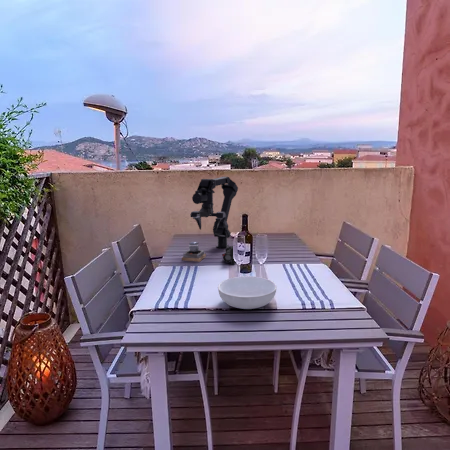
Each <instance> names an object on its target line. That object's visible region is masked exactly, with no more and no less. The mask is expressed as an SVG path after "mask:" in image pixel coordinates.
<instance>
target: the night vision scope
mask: <svg viewBox="0 0 450 450" xmlns="http://www.w3.org/2000/svg"><path fill="white" fill-rule="evenodd" d="M233 246H234V245H231V246H230V245H229V246H228V247H227V248H225V251H224V253H222V254H221V255H222V258H223V261H224V262H225V263H230V264H231V265H235V264H236V262H235V261H234V259H233Z"/></svg>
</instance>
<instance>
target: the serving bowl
mask: <svg viewBox="0 0 450 450" xmlns="http://www.w3.org/2000/svg"><path fill="white" fill-rule="evenodd" d="M277 287H278V286H277V284H276V283H275V282H274V281H272V280H271V279H268V278H265V277H260V276H253V275H252V276H251V275H249V276H248V275H247V276H245V275H244V276H235V277H230V278H227V279H224V280H223V281H221V282H220V283H219V284H218V287H217V289H218V294H219V297H220V299H222V301H223V302H224V303H225V304H227V305H228V306H231V307H233V308H237V309H241V310H242V309H243V310H252V309H253V310H254V309H259V308H262V307H265V306H267V305H268V304H269V303H270V302H272V301H273V299H274V298H275V297H276V293H277Z"/></svg>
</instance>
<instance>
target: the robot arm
mask: <svg viewBox="0 0 450 450" xmlns="http://www.w3.org/2000/svg"><path fill="white" fill-rule="evenodd" d="M218 186H220V187H221V189H222V193H223V201H222V205H221V209H220V211H217V212H214V194H215V188H216V187H218ZM238 190H239V187H238V184H236V182H235V181H234V180H232V179H231V177H230V176H220V177H216V178H202V179H200V182H199V184H198V186H197V188H196V190H194V194H192V197H191V198H192V202H193V203H194V204H195V205H198V204H201V208H200V209H199V210H194V211H191V212H190V213H189V214H190V215H189V216H190V218H192V219H193V220H195V221H196V223H197V226H198V228H199V230H202V218H209V217H216V218H215V221H214V223H213V226H212V227H213V228H212V232H213V235H214V237H215V238H217V245H216V246H215V248H218V249H219V248H220V249H227V248H228V247H229V246H230V245H229V244H228V239H229V238H231V234H232V232H231V231H230V230H229V224H228V220H229V219H228V218H229V214H230V210H231V206H232V202H233V199H234V198H235V197H236V195H237V193H238Z"/></svg>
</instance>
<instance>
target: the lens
mask: <svg viewBox="0 0 450 450" xmlns="http://www.w3.org/2000/svg"><path fill="white" fill-rule="evenodd" d="M199 245H200V244H199V242H198V241H190V242H188V250H189V254H190V253H192V254H198V253H199V250H200V249H199Z"/></svg>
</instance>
